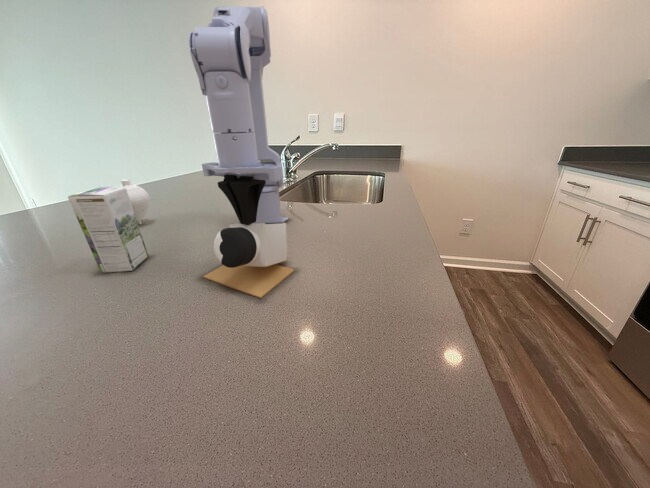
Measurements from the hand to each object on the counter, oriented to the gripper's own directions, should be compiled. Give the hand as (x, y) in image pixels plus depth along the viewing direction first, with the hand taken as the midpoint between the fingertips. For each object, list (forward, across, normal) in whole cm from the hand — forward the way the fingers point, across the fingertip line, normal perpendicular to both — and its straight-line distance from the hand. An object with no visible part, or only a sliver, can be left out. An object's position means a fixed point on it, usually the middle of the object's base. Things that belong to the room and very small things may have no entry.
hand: (248, 222), depth 42 cm
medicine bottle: (+6, 0, +5) cm, 8 cm away
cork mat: (+9, 0, -1) cm, 9 cm away
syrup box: (+9, -24, -9) cm, 28 cm away
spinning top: (+9, -45, +5) cm, 46 cm away
